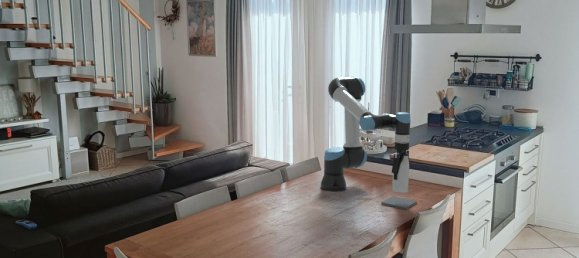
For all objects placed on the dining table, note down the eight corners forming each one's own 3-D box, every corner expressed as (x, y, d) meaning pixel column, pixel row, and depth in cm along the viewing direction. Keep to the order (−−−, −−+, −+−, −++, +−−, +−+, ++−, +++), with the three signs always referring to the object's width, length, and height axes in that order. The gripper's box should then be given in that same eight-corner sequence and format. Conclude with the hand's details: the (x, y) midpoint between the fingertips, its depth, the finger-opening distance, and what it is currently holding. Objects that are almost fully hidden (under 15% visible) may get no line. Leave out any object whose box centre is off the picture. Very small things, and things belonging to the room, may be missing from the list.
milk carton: (408, 192, 275) (409, 157, 272) (394, 192, 275) (395, 157, 272) (405, 189, 282) (406, 154, 279) (392, 188, 282) (393, 154, 279)
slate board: (381, 204, 278) (381, 202, 278) (393, 198, 289) (393, 196, 289) (405, 209, 270) (405, 207, 270) (416, 203, 281) (416, 201, 281)
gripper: (399, 146, 263) (397, 189, 267) (417, 139, 281) (415, 180, 284) (385, 144, 267) (384, 186, 271) (404, 138, 285) (402, 177, 289)
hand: (400, 183), depth 278 cm, fingers closed on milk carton, 10 cm apart
